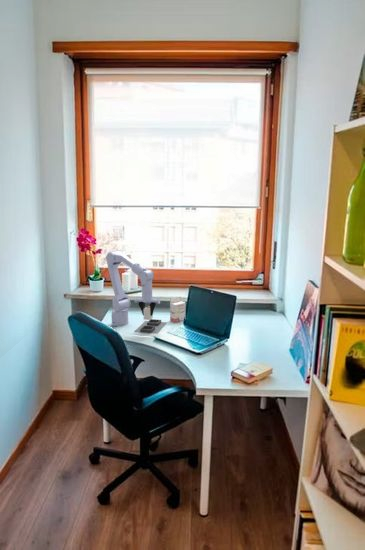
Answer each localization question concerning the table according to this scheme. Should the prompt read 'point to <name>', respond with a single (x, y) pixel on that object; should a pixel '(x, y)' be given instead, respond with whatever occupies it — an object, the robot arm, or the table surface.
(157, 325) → the panel
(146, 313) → the plug
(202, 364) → the table surface
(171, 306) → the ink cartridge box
